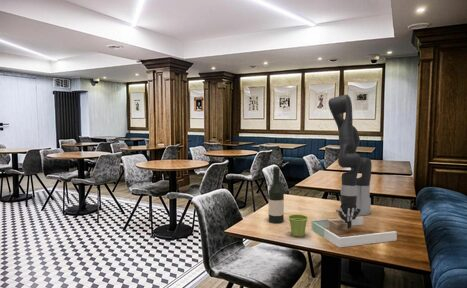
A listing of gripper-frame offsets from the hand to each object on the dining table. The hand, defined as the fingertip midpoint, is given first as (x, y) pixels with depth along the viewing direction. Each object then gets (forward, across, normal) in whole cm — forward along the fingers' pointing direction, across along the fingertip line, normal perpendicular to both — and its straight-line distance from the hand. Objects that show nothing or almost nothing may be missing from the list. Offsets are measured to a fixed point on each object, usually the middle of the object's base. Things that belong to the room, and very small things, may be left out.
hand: (348, 227), depth 157 cm
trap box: (+2, +1, +5) cm, 5 cm away
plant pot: (+2, +26, -2) cm, 26 cm away
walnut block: (+2, +6, 0) cm, 6 cm away
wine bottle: (+2, +28, -24) cm, 37 cm away
